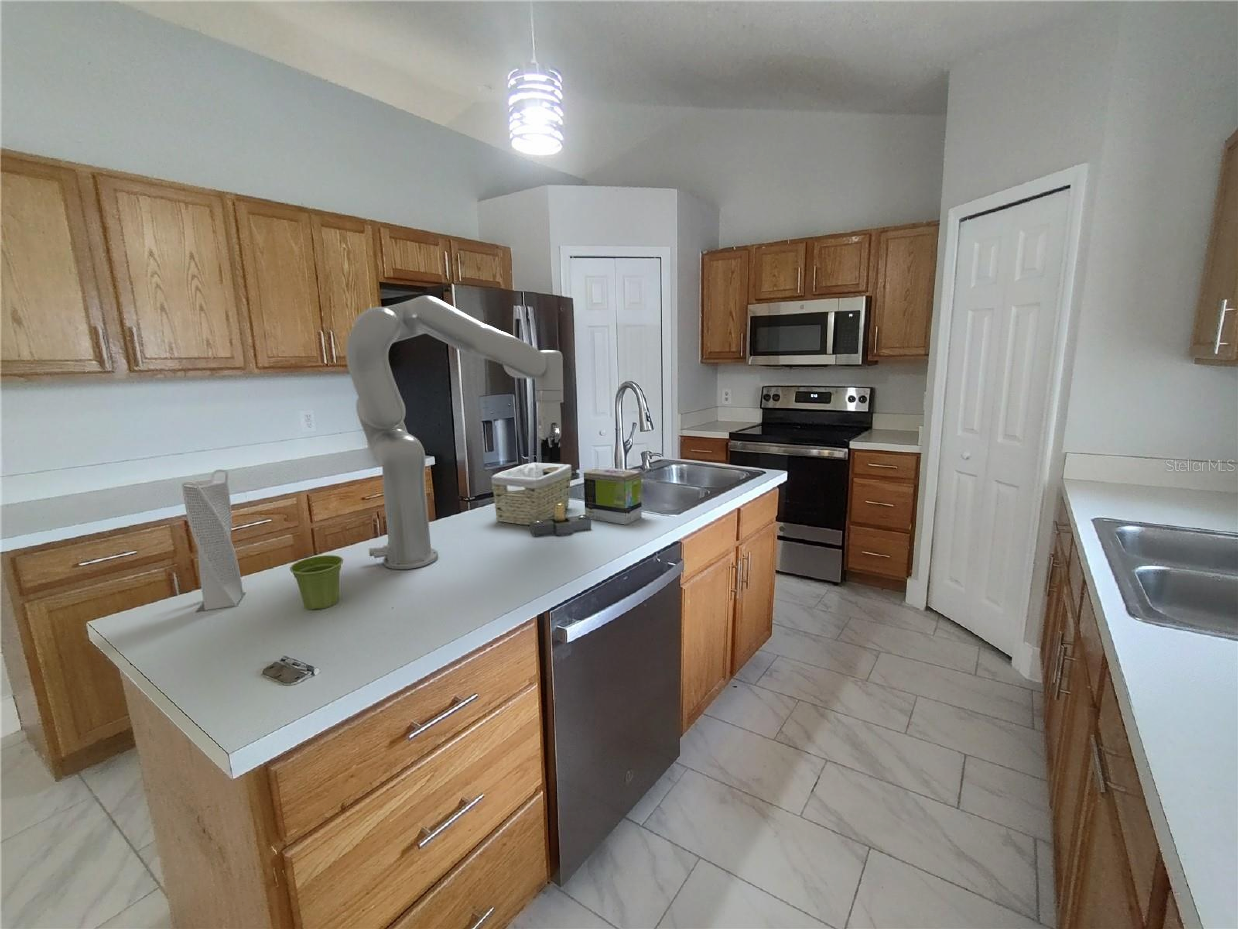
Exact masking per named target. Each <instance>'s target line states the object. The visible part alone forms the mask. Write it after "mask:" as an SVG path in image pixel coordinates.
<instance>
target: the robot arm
mask: <svg viewBox="0 0 1238 929" xmlns="http://www.w3.org/2000/svg"><path fill="white" fill-rule="evenodd" d="M424 334H427V335H429V336H431V337H433V338H435V339H437V340H438V341H442V343H443V342H444V343H445V344H447V345H449V346H451V347H452V348H455V349H457V350H459V351H461V352H462V353H465V354H467V355H470V356H473V357H476V358H481V359H485V360H490V361H493V362H496V363H498V364H500V365H502V366H503V369H504V371H505V372H506V373H507V374H508V375H509V376H511V377H512V378H515V379H527V380H528V379H530V380H534V390H535V391H534V393H535V394H534V395H535V396H534V397H535V403H538V404H537V413H536V414H537V416H536V419H537V424H536V425H537V426H536V427H537V429H536V434H537V436H538V437H539V438H540V456H541V457H548V463H558V462H559V463H560V462H561V459H562V458H561V437H562V413H561V412H562V411H561V403H564V366H563V365H564V364H563V363H564V362H563V360H564V359H563V353H562V352H561V351H559V350H553V349H552V350H549V349H545V350H544V349H543V350H542V349H541V350H539V349H538V348H536V347H535V346H533V345H531V344H529V343H527V342H526V341H524V340H522V339H520V338H518V337H516V336H514V335H511V334H509V333H508V332H505V331H503V330H502V331H501V330H499V329H497V328H496V327H493V326H491V325H488V324H486V323H483V321H479V320H478V319H476V318H475V317H473V316H470V315H468V313H467V314H466V313H465V312H463V311H462V310H460V309H458V308H456V307H454V306H452V305H450V304H448V303H447V302H445V301H444V300H441V299H439V298H437V297H435V296H432V295H421V296H418V297H415V298H412V299H409V300H406V301H403V302H400V303H399V302H398V303H396V304H392V305H386V306H374V307H370V308H368V309H366V310H364V311H362V312H360V314H359V315H357V316H356V318H355V320H354V323H353V327H352V328H351V330H350V332H349V336H348V337H347V341H346V347H345V359H346V365H347V368H348V372H349V375H350V377H351V380H352V384H353V386H354V389H355V391H356V394H357V400H356V404H355V406H356V413H357V417H358V419H359V421H360V422H359V423H360V424H361V428H362V430H363V432H364V434H365V438H366V440H367V442H368V444H369V447H370V449H371V452H372V453H373V454H372V455H373V456H374V457H375V459H376V460H377V461H378V462H379V464H381V468H382V493H383V494H382V495H383V502H384V503H383V504H384V512H385V521H386V531H387V532H386V533H387V539H388V541H387V544H386V545H383V546H382V547H372V548H368V554H369V555H368V556H369V557H374V559H378V558H379V559H381V558H383V559H382V561H383V566H384V567H387V568H389V569H392V570H410V569H415V568H416V569H417V568H421V567H424V566H427V565H430V564H432V563H434V562H436V560H437V559H438V558H439V553H438V552H439V551H437V550H436V549H435V548H432V546H431V534H430V522H429V511H428V510H429V509H428V499H427V498H428V497H427V491H426V490H427V489H426V461H427V460H426V453H425V452H426V451H425V448H424V447H423V445H422V443H421V441H420V440H419V439H418V438H417V437H415V436H414V435H412V434H410V433H409V432H408V429H407V427H406V424H405V422H404V420H405V417H406V414H407V412H406V405H405V402H404V400H403V398H402V395H401V393H400V391H399V388H398V386H397V383H396V380H395V377H394V375H393V371H392V368H391V365H390V360H389V351H390V348H391V346H392V345H393V344H395V343H397V342H400V341H404V340H408V339H411V338H414V337H418V336H421V335H424Z"/></svg>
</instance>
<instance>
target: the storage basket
mask: <svg viewBox="0 0 1238 929" xmlns="http://www.w3.org/2000/svg"><path fill="white" fill-rule="evenodd" d="M544 473H548V474H544ZM572 474H573V473H572V464H568V463H567V464H564V463H552V462H548V463H547V462H544V463H543V462H531V463H525V464H522V465H519V466H515V467H513V468H510V469H507V470H503V471H500V472H498V473H495V474H494V475H492V476H491V488H492V492H493V501H494V506H495V507H494V508H495V516H496V518H495V519H496V520H497V521H498V522H502V523H510V524H517V525H525V526H528V525H529V526H530V521H534V520H545V519H549V517H555V515H554V503H556V502H565V505H566V510H567V509H568V508H569V502H570V501H569V500H570V494H571V492H570V490H571V487H570V486H571V478H572Z"/></svg>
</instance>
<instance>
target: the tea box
mask: <svg viewBox="0 0 1238 929" xmlns="http://www.w3.org/2000/svg"><path fill="white" fill-rule="evenodd" d="M583 489H584V490H583V491H584V492H583V494H584V515H587V516H588V517H589V518H590V519H591V520H596V521H600V522H601V521H602V522H607V523H614V524H621V525H629V524H631V523H633V522H635V521H638V520H639V519H641V518H642V516H643V514H642V512H643V511H642V509H643V506H642V505H643V504H642V503H643V501H642V497H643V496H642V494H643V493H642V471H641V470H636V469H632V470H631V469H625V468H624V469H623V468H614V467H604V466H601V467H598V468H593V469H591V470H587V471H584V472H583Z"/></svg>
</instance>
